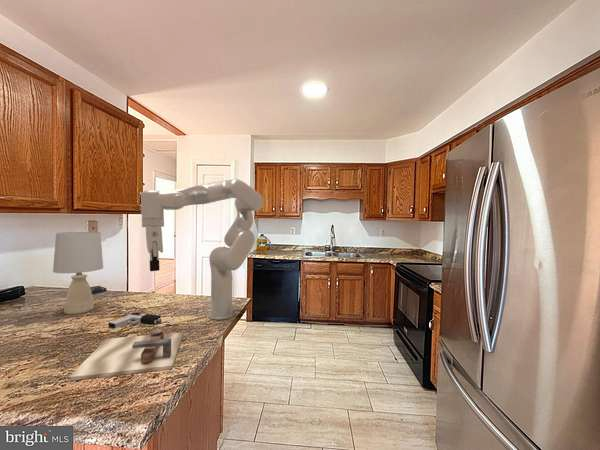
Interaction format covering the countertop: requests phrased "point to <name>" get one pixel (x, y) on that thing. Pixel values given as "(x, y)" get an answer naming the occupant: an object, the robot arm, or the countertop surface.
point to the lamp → (78, 266)
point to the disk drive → (97, 289)
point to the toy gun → (136, 320)
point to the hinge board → (129, 356)
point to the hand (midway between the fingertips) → (154, 270)
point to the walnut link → (151, 348)
